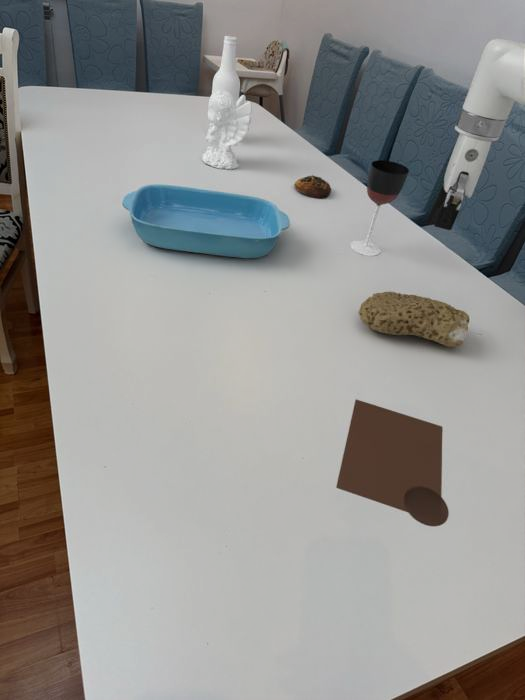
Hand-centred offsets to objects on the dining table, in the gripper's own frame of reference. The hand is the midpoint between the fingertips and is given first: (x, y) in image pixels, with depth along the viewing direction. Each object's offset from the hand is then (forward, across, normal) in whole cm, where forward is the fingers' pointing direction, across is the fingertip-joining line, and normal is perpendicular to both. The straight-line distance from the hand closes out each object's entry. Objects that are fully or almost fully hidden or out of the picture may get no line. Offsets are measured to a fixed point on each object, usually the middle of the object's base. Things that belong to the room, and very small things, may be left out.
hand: (442, 217), depth 96 cm
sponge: (+18, -14, 0) cm, 23 cm away
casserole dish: (+18, +1, +48) cm, 51 cm away
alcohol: (+19, +70, +69) cm, 100 cm away
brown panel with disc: (+18, -46, 0) cm, 50 cm away
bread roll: (+18, +45, +32) cm, 58 cm away
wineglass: (+18, +17, +12) cm, 28 cm away
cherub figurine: (+18, +50, +61) cm, 81 cm away
